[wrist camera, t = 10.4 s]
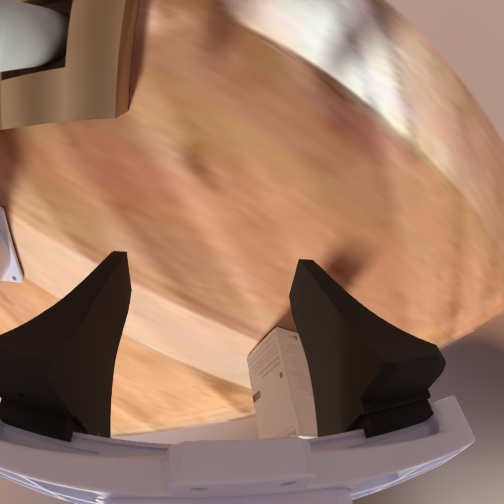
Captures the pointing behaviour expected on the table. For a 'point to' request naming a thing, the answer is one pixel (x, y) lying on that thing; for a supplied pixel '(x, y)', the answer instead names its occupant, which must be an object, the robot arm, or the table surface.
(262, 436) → the skincare box
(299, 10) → the table surface
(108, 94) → the walnut socket block
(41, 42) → the peg
